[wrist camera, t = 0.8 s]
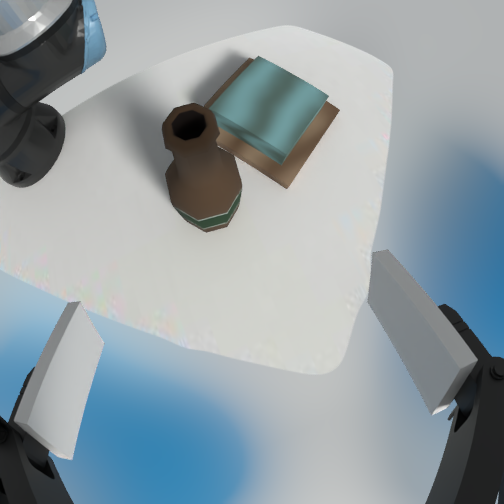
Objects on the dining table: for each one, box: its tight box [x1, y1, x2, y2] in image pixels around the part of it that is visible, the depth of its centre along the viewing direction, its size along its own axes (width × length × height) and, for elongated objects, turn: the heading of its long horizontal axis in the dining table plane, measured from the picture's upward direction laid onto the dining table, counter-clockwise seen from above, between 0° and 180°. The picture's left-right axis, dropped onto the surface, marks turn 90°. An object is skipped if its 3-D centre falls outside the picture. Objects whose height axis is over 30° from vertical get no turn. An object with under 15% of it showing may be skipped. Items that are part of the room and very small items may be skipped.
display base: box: [204, 56, 340, 189], centre depth 39 cm, size 17×16×6 cm
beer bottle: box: [162, 103, 242, 232], centre depth 28 cm, size 8×8×24 cm
